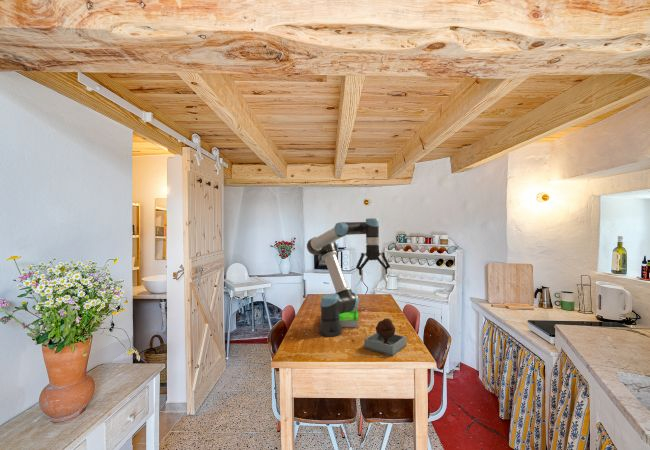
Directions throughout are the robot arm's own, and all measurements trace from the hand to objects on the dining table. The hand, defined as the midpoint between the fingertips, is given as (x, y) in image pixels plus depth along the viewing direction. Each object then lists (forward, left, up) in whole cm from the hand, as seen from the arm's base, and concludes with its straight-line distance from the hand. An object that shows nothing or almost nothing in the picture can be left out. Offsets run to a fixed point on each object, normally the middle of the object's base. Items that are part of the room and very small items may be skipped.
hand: (373, 280), depth 184 cm
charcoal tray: (+11, -7, -35) cm, 37 cm away
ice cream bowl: (+11, -7, -34) cm, 36 cm away
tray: (-36, +16, -36) cm, 53 cm away
